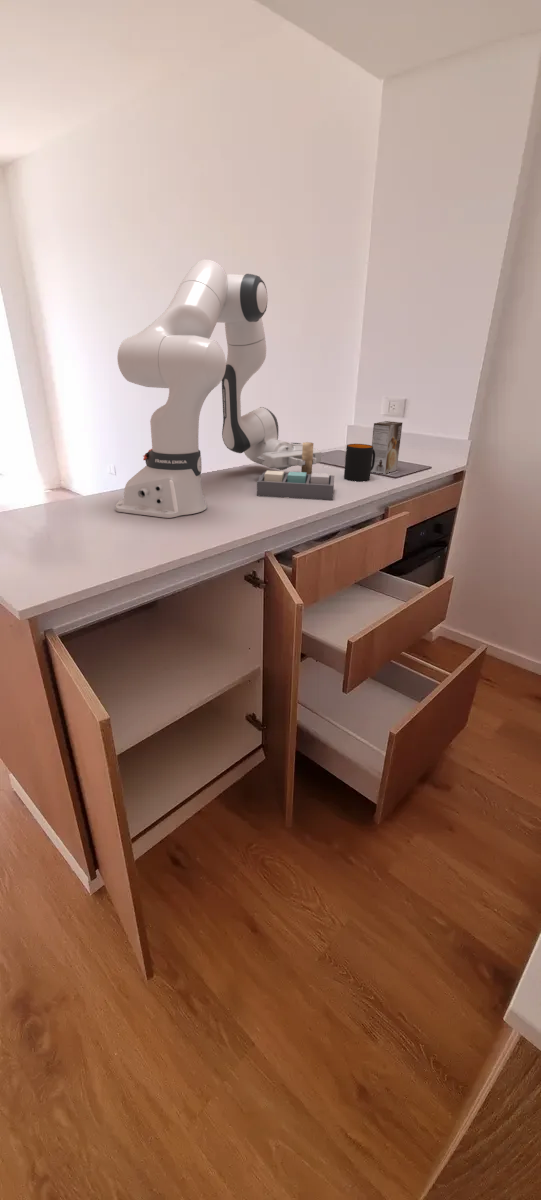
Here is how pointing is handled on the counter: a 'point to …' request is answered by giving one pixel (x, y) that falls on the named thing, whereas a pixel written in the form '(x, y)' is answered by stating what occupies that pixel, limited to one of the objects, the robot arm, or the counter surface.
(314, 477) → the key grey
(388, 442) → the coffee box
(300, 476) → the key teal
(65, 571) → the counter surface
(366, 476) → the mug
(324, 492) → the gray divided sorting tray
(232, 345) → the robot arm
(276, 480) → the key cream
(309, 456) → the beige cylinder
